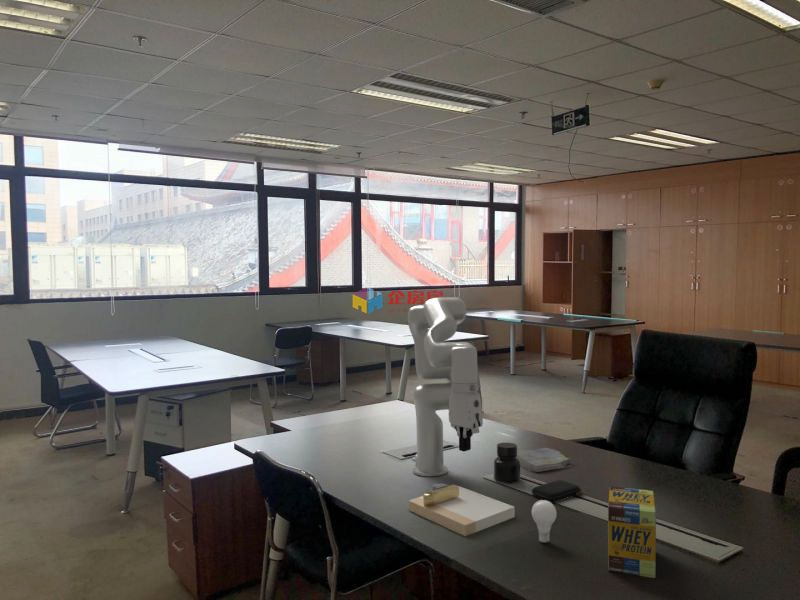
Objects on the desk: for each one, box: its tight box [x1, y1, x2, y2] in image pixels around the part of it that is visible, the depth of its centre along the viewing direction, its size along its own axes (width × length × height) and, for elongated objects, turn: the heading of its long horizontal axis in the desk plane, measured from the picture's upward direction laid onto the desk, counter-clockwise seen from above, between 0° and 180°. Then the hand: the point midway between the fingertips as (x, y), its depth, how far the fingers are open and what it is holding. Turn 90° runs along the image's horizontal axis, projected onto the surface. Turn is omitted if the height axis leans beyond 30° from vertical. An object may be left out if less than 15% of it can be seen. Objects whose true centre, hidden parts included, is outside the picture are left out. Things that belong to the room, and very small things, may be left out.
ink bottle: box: [493, 442, 521, 484], centre depth 205 cm, size 10×9×12 cm
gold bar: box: [422, 484, 459, 506], centre depth 178 cm, size 13×3×3 cm, turn 128°
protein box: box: [607, 485, 657, 579], centre depth 145 cm, size 10×15×16 cm
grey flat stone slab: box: [517, 447, 573, 473], centre depth 223 cm, size 20×5×17 cm
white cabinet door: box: [407, 482, 516, 537], centre depth 176 cm, size 24×20×6 cm
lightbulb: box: [531, 499, 558, 544], centre depth 156 cm, size 6×6×11 cm
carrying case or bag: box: [531, 479, 582, 503], centre depth 190 cm, size 11×3×15 cm
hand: (464, 450), depth 175 cm, fingers closed
